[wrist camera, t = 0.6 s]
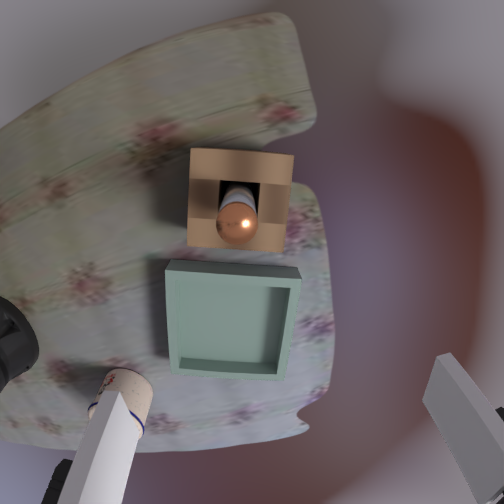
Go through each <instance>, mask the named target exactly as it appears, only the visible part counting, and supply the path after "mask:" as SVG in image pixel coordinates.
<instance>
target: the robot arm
mask: <svg viewBox="0 0 504 504" xmlns="http://www.w3.org/2000/svg"><path fill="white" fill-rule="evenodd" d="M38 356H39V346H38V342H37V338H36V336H35V333H34V331H33V329H32V327H31V326H30V324H29V322H28V321H27V320H26V318H25V317H24V316H23V314H22V313H21V312H20V311H19V310H18V309H17V308H16V307H15V306H14V305H13V304H11V303H10V302H9V301H7V300H5V299H4V298H1V297H0V393H1V391H2V390H3V388H4V387H5V386H6V384H7V383H8V382H9V381H10V380H12V379H13V378H15V377H17V376H19V375H21V374H22V373H24V372H26V371H28V370H29V369H30V368H31V367H32V366H33V365H34V363H35V362H36V361H37V359H38ZM422 401H423V403H424V404H425V406H426V408H427V410H428V411H429V413H430V415H431V417H432V418H433V420H434V422H435V424H436V425H437V427H438V429H439V431H440V432H441V434H442V436H443V438H444V440H445V441H446V443H447V445H448V447H449V449H450V451H451V452H452V454H453V456H454V458H455V460H456V462H457V464H458V465H459V467H460V469H461V471H462V473H463V475H464V477H465V479H466V481H467V483H468V485H469V487H470V489H471V491H472V493H473V495H474V497H475V499H476V501H477V503H478V504H488V503H490V502H492V501H494V500H495V499H496V498H497V497H498V496H499V495H500V494H501V493H503V495H504V408H502V407H500V408H498V409H496V410H495V409H494V408H493V407H492V405H491V404H490V403H489V401H488V400H487V399H486V397H485V396H484V395H483V393H482V392H481V391H480V389H479V388H478V387H477V386H476V384H475V383H474V382H473V380H472V379H471V378H470V377H469V375H468V374H467V373H466V371H465V370H464V369H463V368H462V367H461V365H460V364H459V363H458V362H457V360H456V359H455V358H454V357H453V356H452V354H451V353H447V354H444V355H441V356H437V357H436V360H435V363H434V367H433V370H432V373H431V376H430V379H429V382H428V385H427V388H426V391H425V394H424V397H423V400H422ZM139 434H140V431H139V430H138V428H137V426H136V424H135V422H134V420H133V418H132V416H131V414H130V412H129V410H128V408H127V406H126V404H125V402H124V400H123V397H122V395H121V393H120V391H106V390H104V391H103V393H102V395H101V397H100V400H99V402H98V404H97V406H96V408H95V411H94V413H93V415H92V417H91V420H90V422H89V424H88V427H87V429H86V431H85V434H84V436H83V438H82V441H81V443H80V446H79V448H78V451H77V453H76V456H75V458H74V460H73V461H72V460H68V459H63V460H62V461H61V463H60V464H58V466H57V467H56V468H55V471H54V473H53V475H52V480H50V483H49V485H48V488H47V490H46V493H45V495H44V498H43V501H42V503H41V504H121V503H122V499H123V494H124V490H125V486H126V483H127V479H128V475H129V471H130V467H131V463H132V459H133V456H134V452H135V448H136V445H137V441H138V438H139ZM496 504H504V497H502V498H501V499H500V500H499V501H498V502H497V503H496Z"/></svg>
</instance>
